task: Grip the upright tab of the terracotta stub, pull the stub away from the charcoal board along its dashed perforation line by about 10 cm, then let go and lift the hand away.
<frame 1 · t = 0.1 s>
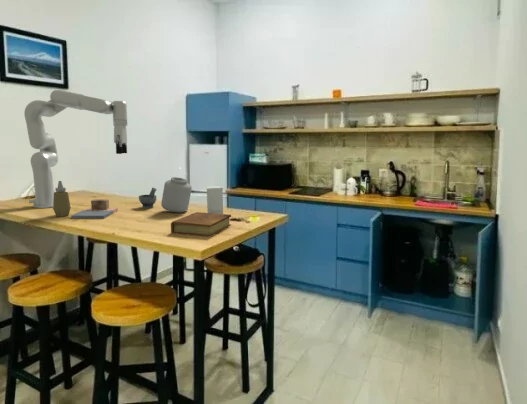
hand: (121, 153, 225), 31 cm above the table, tool pointing down, fingers open, 9 cm apart
mortar and pestle: (148, 207, 228), on the table
squeeze bottle: (62, 215, 201), on the table
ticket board: (93, 215, 202), on the table
stub: (100, 205, 212), point 3 cm above the table, slide at 0.0 cm
diary: (202, 230, 176), on the table
jar: (178, 212, 216), on the table
skincare box: (215, 216, 205), on the table
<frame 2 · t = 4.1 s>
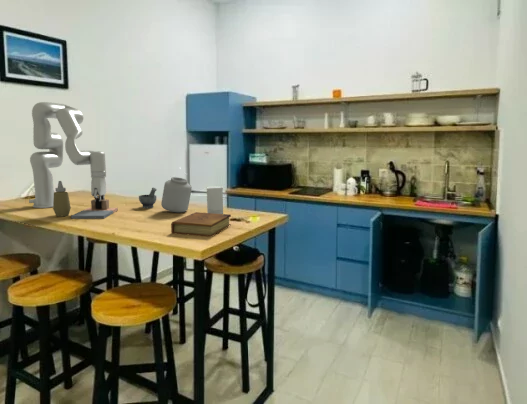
hand: (100, 207, 212), 2 cm above the table, tool pointing down, fingers closed on stub, 4 cm apart
stub: (100, 205, 212), point 3 cm above the table, slide at 0.0 cm, touching gripper
everything else where it was.
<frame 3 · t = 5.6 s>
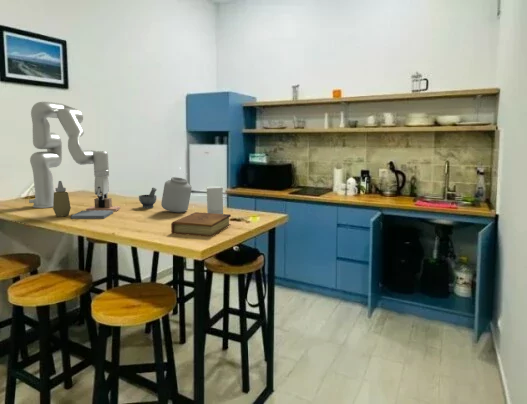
hand: (103, 206, 217), 2 cm above the table, tool pointing down, fingers closed on stub, 4 cm apart
stub: (103, 204, 217), point 3 cm above the table, slide at 4.9 cm, touching gripper
everything else where it was.
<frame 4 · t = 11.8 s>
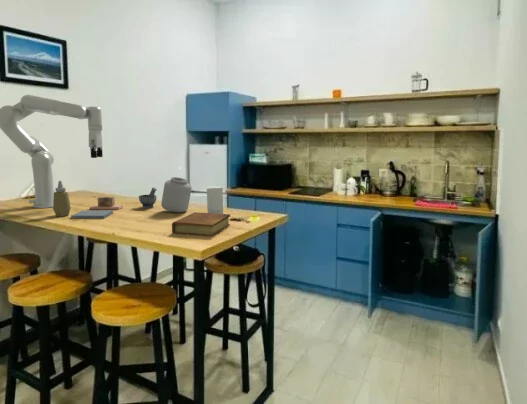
hand: (96, 157, 232), 28 cm above the table, tool pointing down, fingers open, 9 cm apart
stub: (106, 202, 222), point 3 cm above the table, slide at 10.0 cm
everything else where it was.
at the end: stub slide at 10.0 cm; the gripper is holding nothing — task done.
